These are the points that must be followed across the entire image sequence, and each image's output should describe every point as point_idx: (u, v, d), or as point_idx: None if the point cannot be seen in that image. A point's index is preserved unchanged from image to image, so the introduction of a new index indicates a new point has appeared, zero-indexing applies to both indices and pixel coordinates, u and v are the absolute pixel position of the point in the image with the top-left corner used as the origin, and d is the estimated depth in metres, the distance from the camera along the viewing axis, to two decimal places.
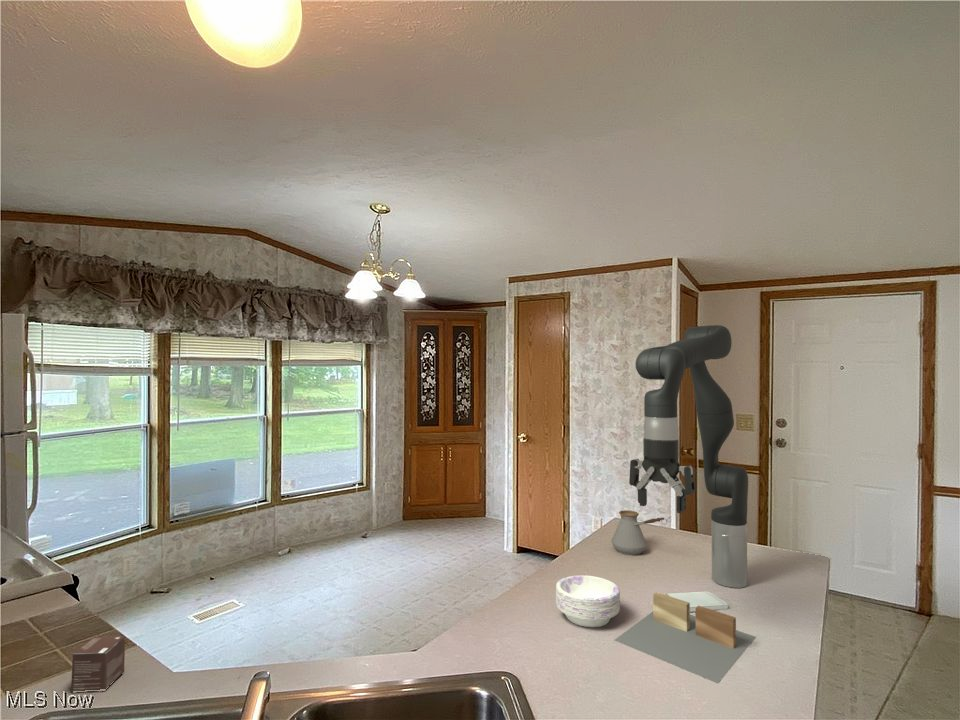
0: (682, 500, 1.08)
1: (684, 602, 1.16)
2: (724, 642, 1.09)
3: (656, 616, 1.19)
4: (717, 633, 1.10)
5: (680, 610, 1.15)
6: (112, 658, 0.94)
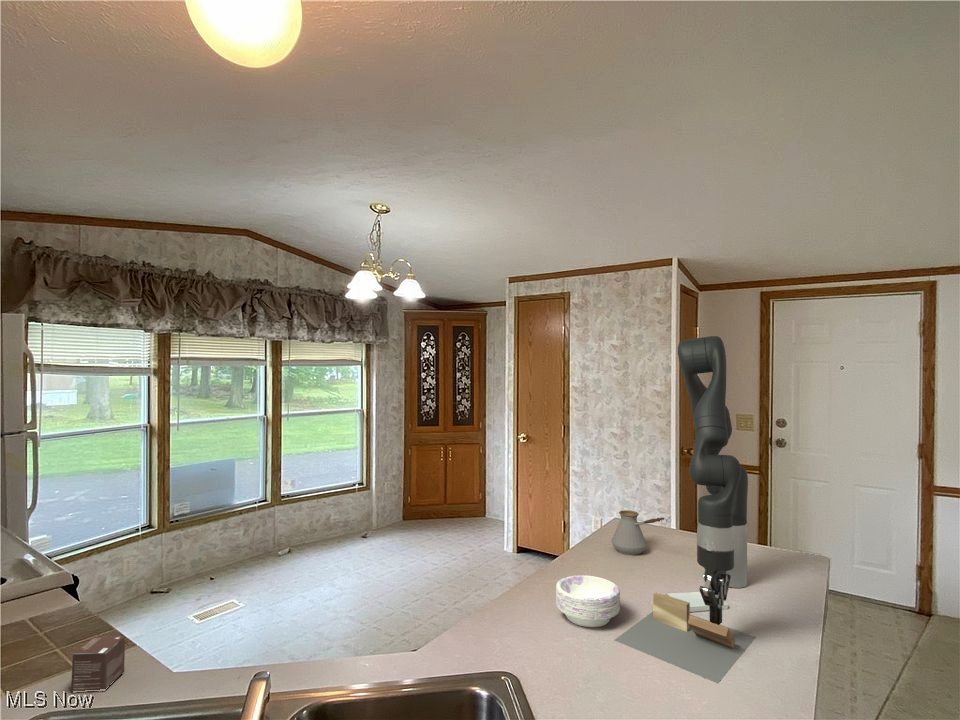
0: None
1: (684, 602, 1.16)
2: (723, 644, 1.08)
3: (656, 616, 1.19)
4: (715, 638, 1.08)
5: (680, 610, 1.15)
6: (112, 658, 0.94)
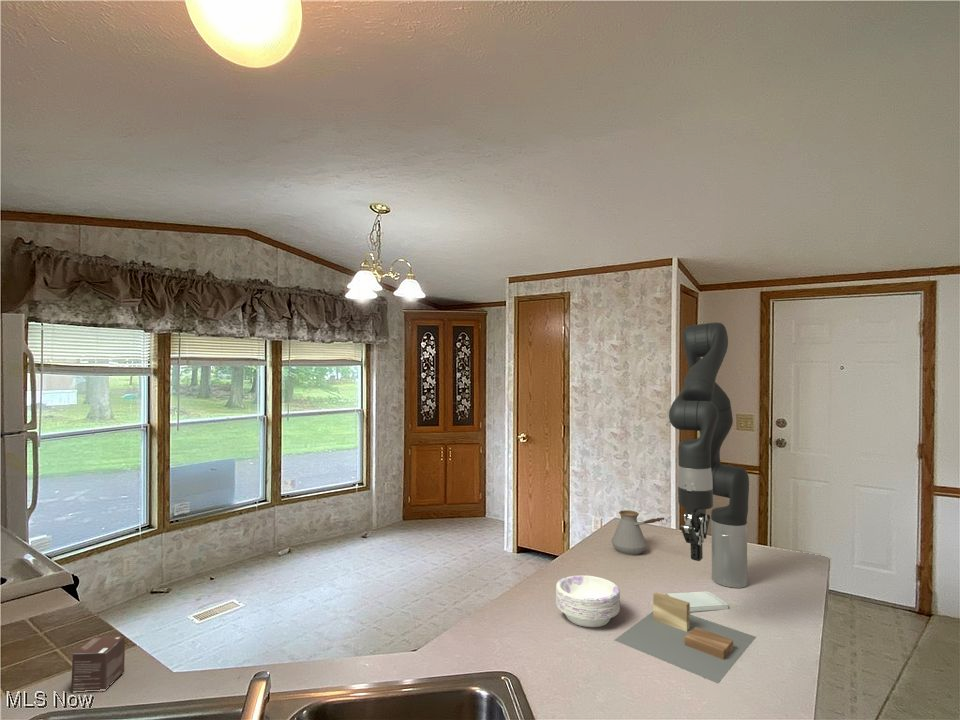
0: None
1: (684, 602, 1.16)
2: None
3: (656, 616, 1.19)
4: None
5: (680, 610, 1.15)
6: (112, 658, 0.94)
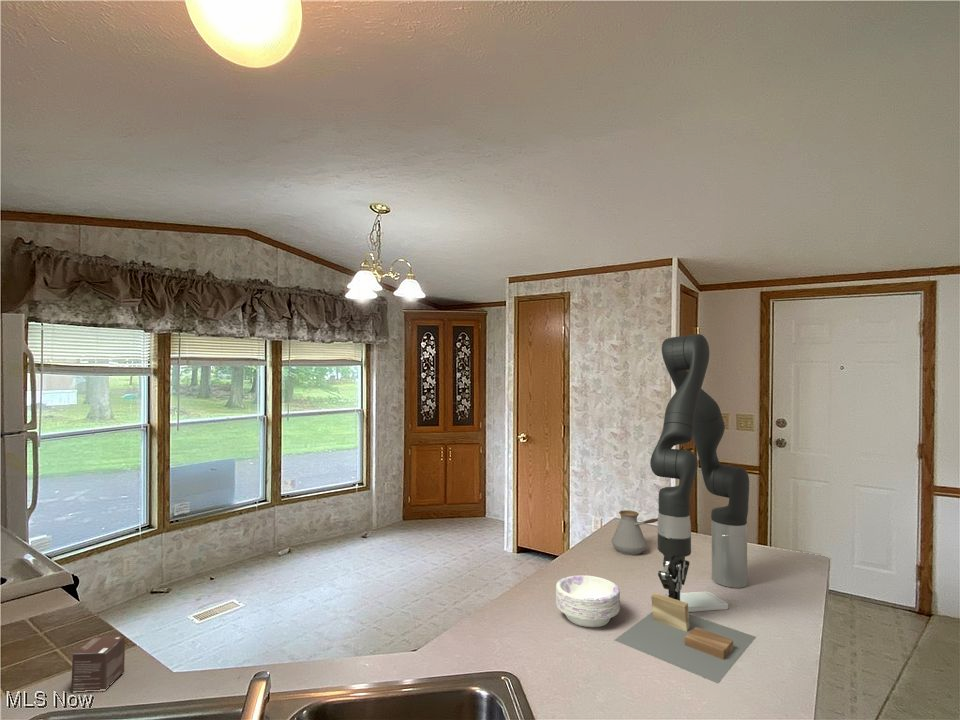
0: None
1: (682, 603, 1.15)
2: None
3: (656, 616, 1.19)
4: None
5: (679, 611, 1.15)
6: (112, 658, 0.94)
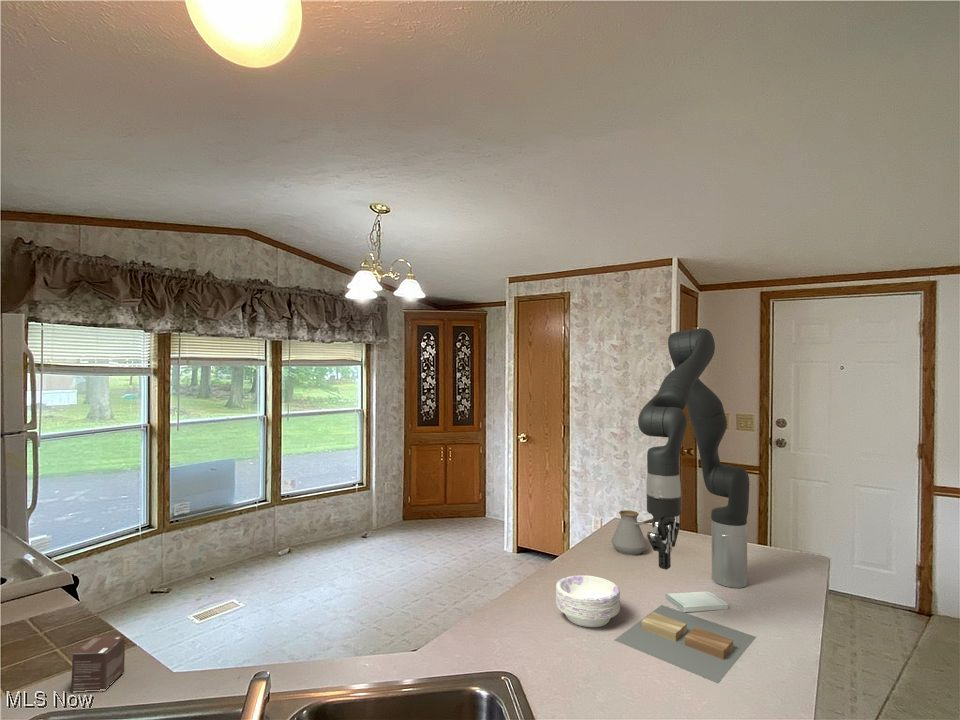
0: (669, 554, 1.16)
1: (671, 634, 1.11)
2: None
3: None
4: None
5: None
6: (112, 658, 0.94)
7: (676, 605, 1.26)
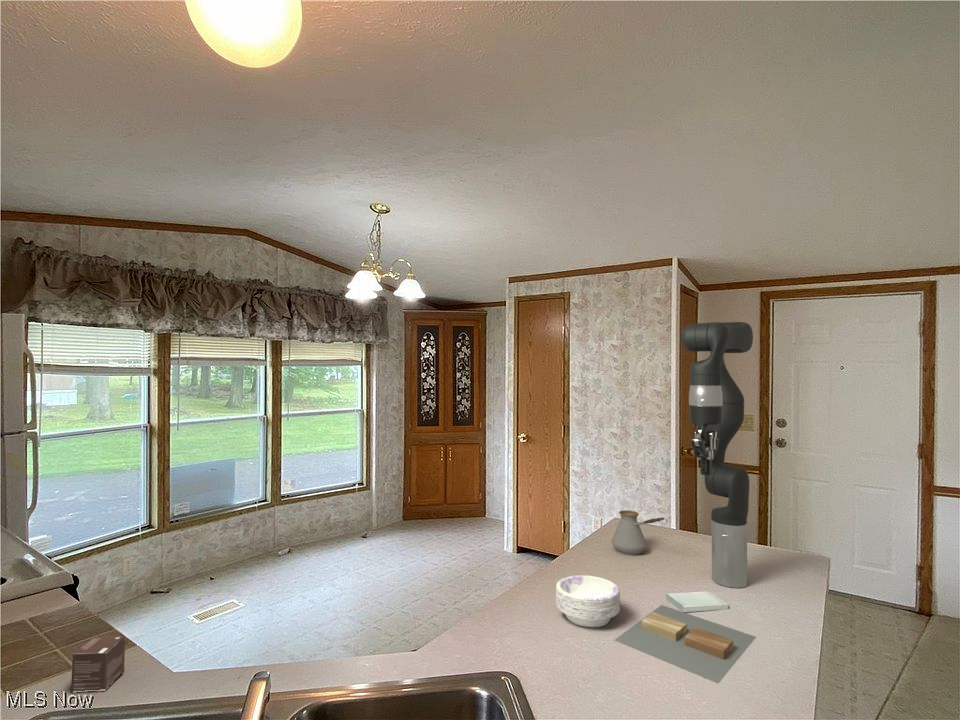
0: None
1: (671, 634, 1.11)
2: None
3: None
4: None
5: None
6: (112, 658, 0.94)
7: (676, 605, 1.26)
